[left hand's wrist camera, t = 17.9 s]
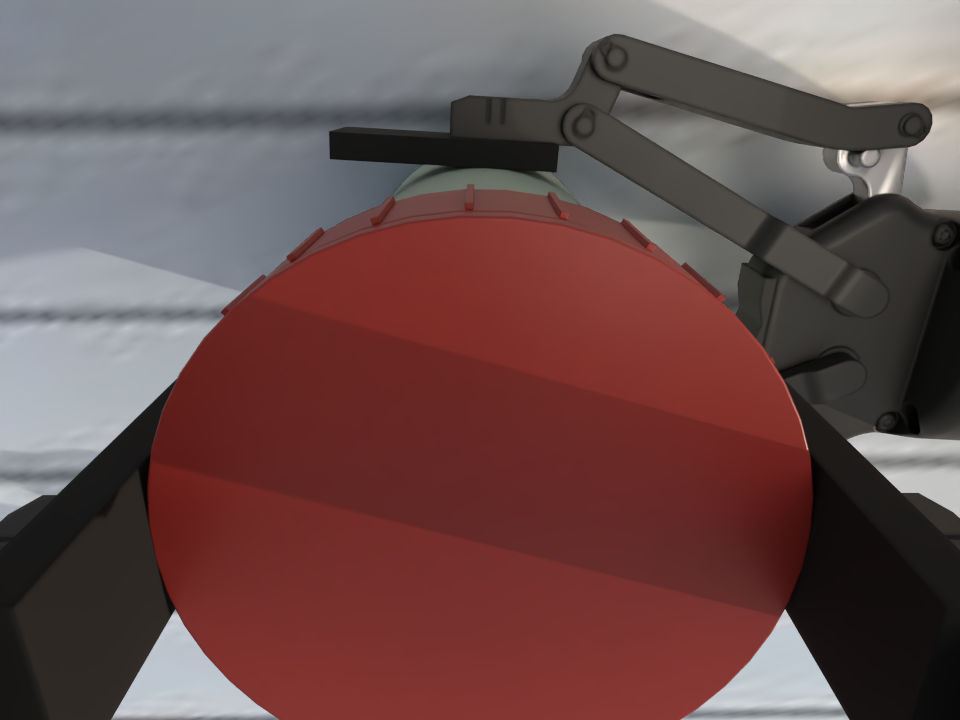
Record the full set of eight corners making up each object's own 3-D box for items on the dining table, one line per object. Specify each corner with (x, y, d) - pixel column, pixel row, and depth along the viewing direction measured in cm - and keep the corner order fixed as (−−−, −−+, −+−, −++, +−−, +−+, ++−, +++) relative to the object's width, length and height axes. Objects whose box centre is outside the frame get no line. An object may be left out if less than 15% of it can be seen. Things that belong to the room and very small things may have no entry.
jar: (549, 376, 30) (631, 726, 14) (356, 325, 30) (194, 631, 13) (617, 183, 27) (831, 329, 11) (404, 119, 26) (273, 168, 10)
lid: (331, 61, 10) (288, 54, 8) (874, 352, 12) (968, 416, 9) (134, 559, 13) (63, 656, 11) (579, 730, 15) (596, 844, 13)
